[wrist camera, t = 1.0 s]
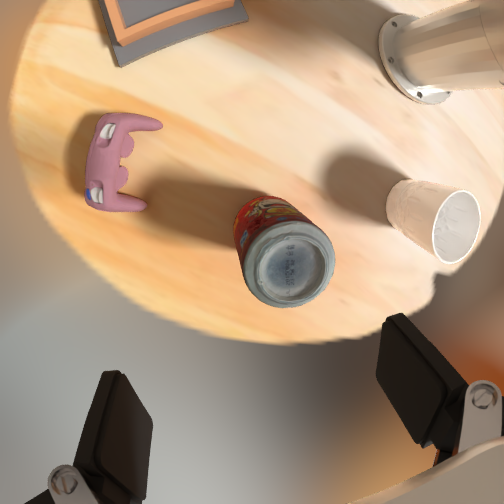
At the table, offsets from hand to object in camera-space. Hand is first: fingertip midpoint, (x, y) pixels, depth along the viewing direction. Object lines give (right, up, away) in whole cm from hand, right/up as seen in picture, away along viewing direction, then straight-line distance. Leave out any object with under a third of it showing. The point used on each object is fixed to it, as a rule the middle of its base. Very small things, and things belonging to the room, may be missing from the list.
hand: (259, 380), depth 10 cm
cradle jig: (-10, +33, +11) cm, 36 cm away
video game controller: (-13, +14, +19) cm, 27 cm away
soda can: (+1, +7, +23) cm, 24 cm away
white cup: (+19, +10, +24) cm, 33 cm away
